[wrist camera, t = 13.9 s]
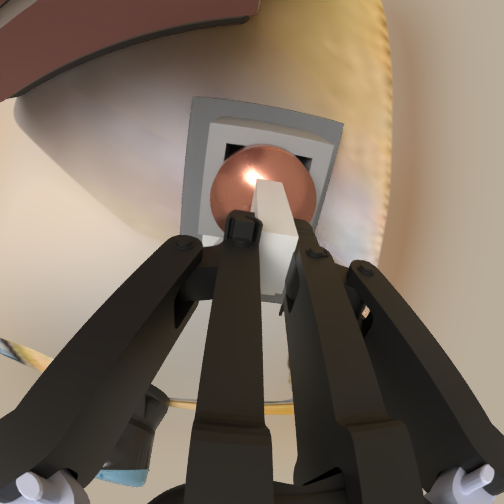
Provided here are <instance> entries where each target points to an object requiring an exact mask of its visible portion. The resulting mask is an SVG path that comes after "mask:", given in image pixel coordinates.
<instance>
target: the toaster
mask: <svg viewBox="0 0 504 504" xmlns="http://www.w3.org/2000/svg"><path fill="white" fill-rule="evenodd" d="M261 1H262V0H0V102H2V101H4V100H5V99H8V98H13V97H18V96H21V95H23V94H24V93H26V92H27V91H29V90H31V89H32V88H34V87H36V86H38V85H39V84H41V83H43V82H45V81H47V80H49V79H50V78H52V77H54V76H56V75H58V74H60V73H62V72H64V71H66V70H69V69H71V68H73V67H75V66H77V65H79V64H82V63H84V62H86V61H89V60H91V59H94V58H96V57H99V56H101V55H104V54H106V53H109V52H112V51H115V50H118V49H121V48H124V47H127V46H130V45H133V44H136V43H140V42H143V41H147V40H150V39H154V38H158V37H162V36H166V35H170V34H175V33H180V32H185V31H190V30H196V29H202V28H208V27H215V26H223V25H232V24H242V23H245V22H247V21H248V19H249V15H257V14H258V11H259V8H260V4H261Z"/></svg>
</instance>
